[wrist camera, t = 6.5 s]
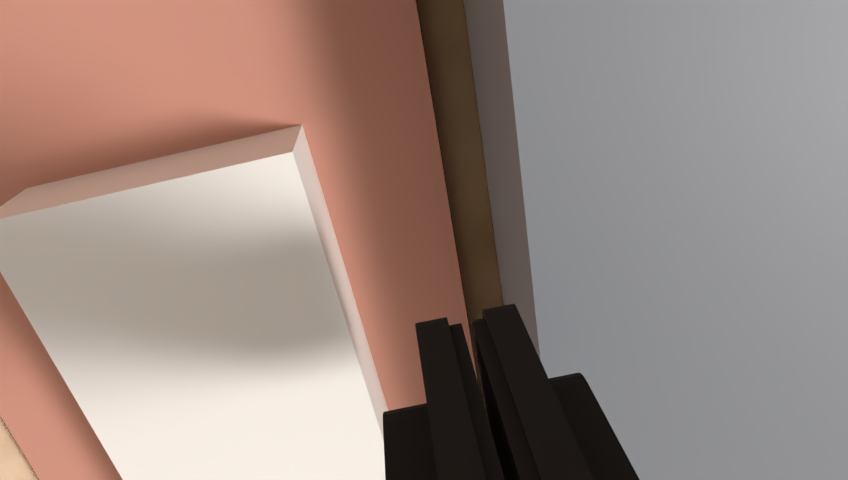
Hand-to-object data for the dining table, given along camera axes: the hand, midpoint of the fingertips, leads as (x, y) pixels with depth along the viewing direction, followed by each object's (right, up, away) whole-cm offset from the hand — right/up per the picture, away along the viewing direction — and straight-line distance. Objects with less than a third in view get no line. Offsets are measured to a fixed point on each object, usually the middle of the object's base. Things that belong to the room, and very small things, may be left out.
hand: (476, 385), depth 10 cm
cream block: (-5, -1, +3) cm, 6 cm away
